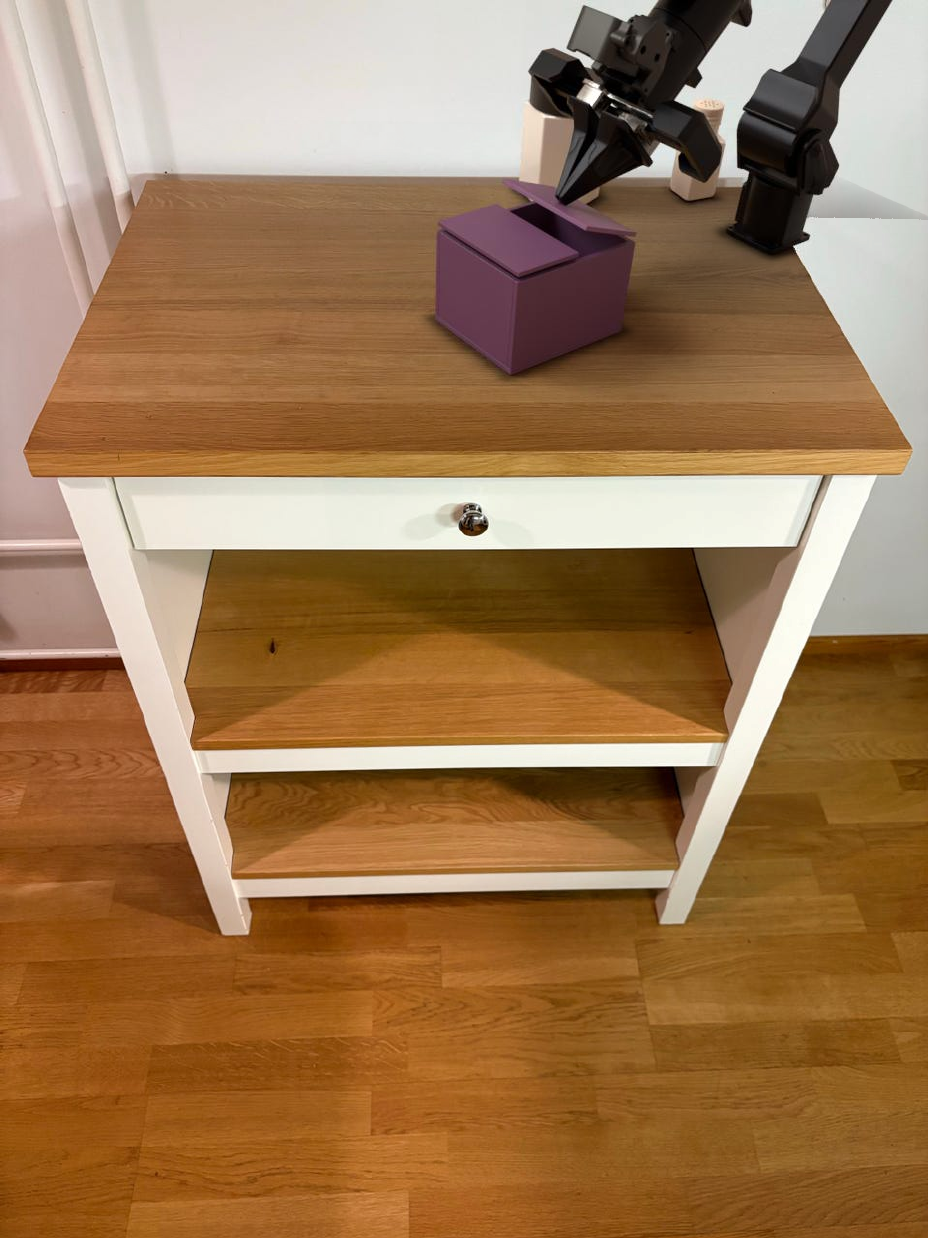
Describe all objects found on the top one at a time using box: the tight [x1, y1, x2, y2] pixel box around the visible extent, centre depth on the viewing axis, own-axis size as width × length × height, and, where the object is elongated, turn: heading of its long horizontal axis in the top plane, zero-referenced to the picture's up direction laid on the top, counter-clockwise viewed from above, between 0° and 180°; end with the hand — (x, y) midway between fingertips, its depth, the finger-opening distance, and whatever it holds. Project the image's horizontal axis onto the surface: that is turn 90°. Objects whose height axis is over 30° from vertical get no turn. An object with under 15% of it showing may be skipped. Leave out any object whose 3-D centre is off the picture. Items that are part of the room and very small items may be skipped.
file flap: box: [501, 177, 638, 238], centre depth 84 cm, size 6×11×1 cm, turn 37°
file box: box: [434, 201, 636, 376], centre depth 87 cm, size 13×11×9 cm
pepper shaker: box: [669, 98, 727, 201], centre depth 108 cm, size 4×4×10 cm
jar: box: [518, 66, 603, 205], centre depth 105 cm, size 9×8×12 cm
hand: (560, 201), depth 83 cm, fingers closed
